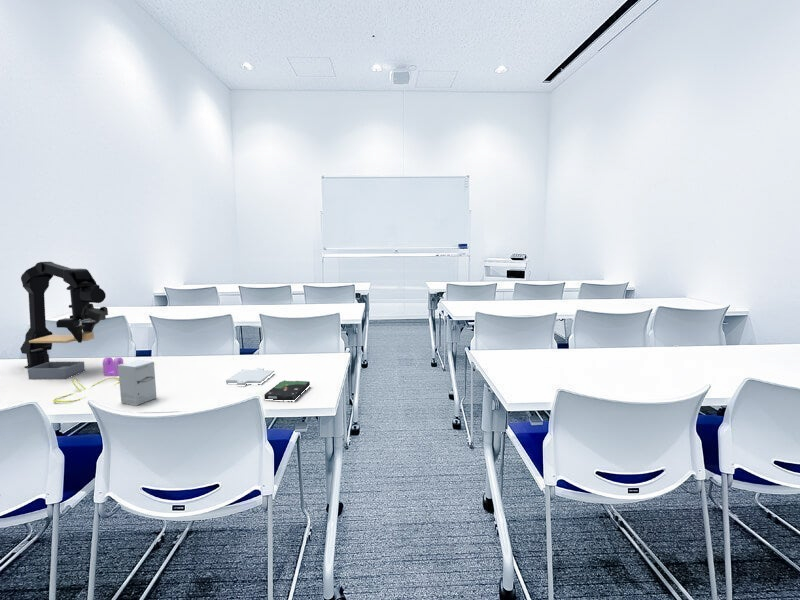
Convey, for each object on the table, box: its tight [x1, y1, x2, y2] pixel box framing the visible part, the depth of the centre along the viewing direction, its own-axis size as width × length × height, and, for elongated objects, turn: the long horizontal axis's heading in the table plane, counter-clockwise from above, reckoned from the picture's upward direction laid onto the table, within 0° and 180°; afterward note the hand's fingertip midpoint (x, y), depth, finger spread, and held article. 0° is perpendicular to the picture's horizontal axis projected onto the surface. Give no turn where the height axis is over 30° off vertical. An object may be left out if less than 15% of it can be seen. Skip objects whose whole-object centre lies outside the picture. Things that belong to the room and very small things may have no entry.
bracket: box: [102, 357, 124, 377], centre depth 173 cm, size 13×6×7 cm, turn 176°
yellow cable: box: [52, 377, 120, 403], centre depth 151 cm, size 25×10×5 cm, turn 173°
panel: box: [27, 361, 86, 380], centre depth 168 cm, size 14×10×4 cm
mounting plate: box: [225, 367, 275, 386], centre depth 163 cm, size 18×13×2 cm
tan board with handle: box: [29, 331, 95, 344], centre depth 169 cm, size 20×11×3 cm, turn 90°
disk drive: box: [263, 379, 311, 400], centre depth 147 cm, size 10×3×15 cm
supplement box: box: [118, 359, 157, 407], centre depth 140 cm, size 7×7×13 cm
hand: (84, 341), depth 169 cm, fingers closed on tan board with handle, 4 cm apart
